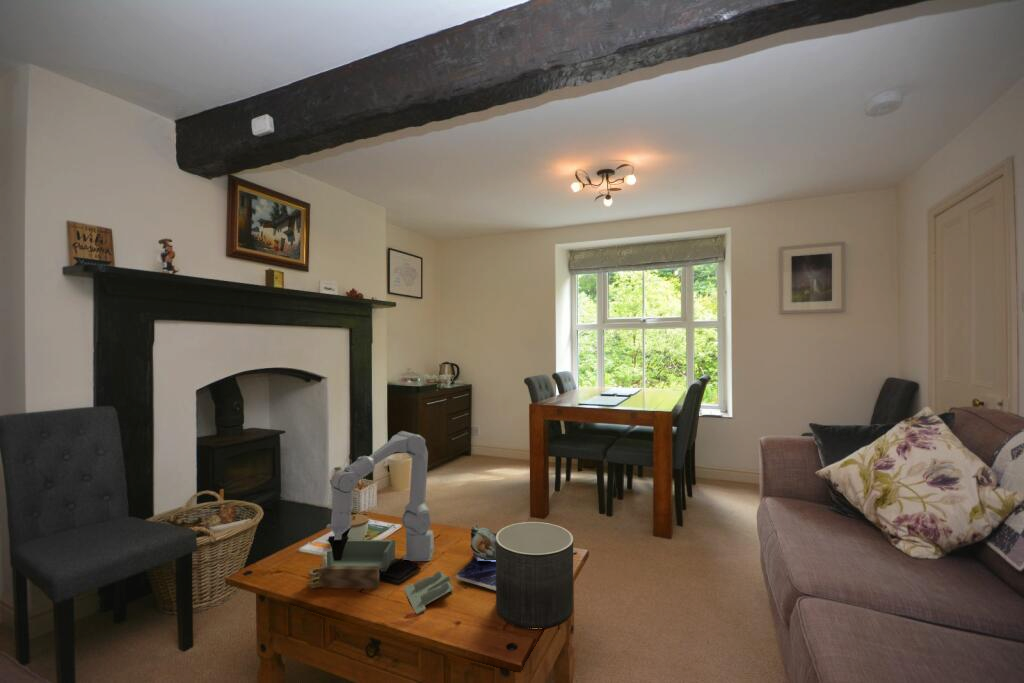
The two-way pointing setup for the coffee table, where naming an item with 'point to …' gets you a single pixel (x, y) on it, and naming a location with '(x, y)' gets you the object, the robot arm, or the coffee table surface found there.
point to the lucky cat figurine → (483, 543)
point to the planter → (534, 575)
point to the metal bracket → (428, 590)
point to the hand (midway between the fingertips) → (338, 554)
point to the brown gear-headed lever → (345, 577)
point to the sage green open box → (364, 553)
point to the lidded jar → (358, 527)
